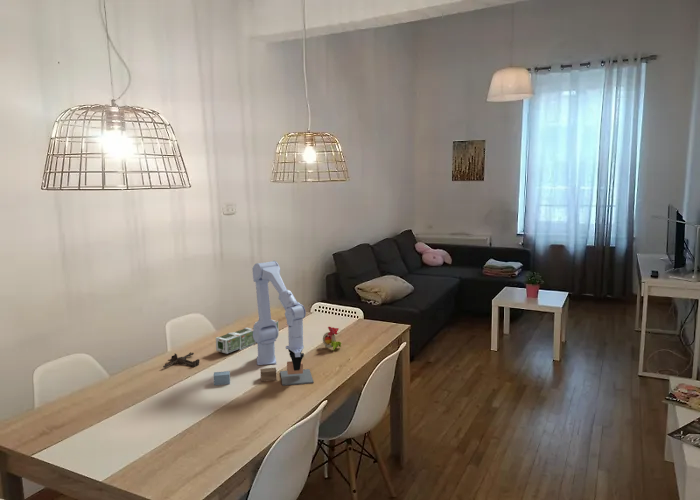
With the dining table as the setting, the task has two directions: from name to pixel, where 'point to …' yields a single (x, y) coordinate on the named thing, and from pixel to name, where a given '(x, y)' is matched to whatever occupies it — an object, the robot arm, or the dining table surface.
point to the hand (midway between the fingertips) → (296, 368)
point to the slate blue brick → (221, 378)
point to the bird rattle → (331, 338)
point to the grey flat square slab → (296, 378)
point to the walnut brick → (268, 374)
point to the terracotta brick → (291, 369)
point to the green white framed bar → (236, 340)
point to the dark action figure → (182, 360)
